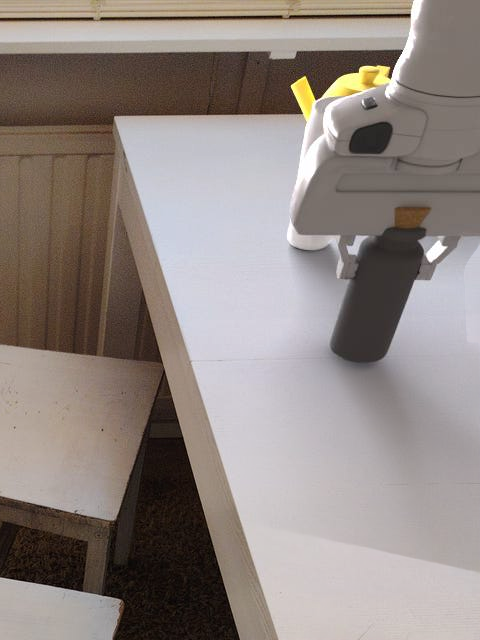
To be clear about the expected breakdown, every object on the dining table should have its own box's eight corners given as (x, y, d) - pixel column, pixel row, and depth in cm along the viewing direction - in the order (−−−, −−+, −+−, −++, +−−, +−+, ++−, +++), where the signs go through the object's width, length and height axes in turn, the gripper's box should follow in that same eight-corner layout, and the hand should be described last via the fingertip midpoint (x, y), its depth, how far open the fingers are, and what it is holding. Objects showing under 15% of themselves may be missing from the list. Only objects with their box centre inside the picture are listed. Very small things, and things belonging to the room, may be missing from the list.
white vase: (333, 258, 100) (374, 120, 88) (276, 251, 101) (309, 114, 90) (337, 233, 104) (377, 98, 92) (283, 227, 105) (315, 93, 94)
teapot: (254, 165, 117) (272, 75, 109) (302, 125, 126) (322, 38, 118) (393, 197, 110) (425, 102, 101) (433, 151, 119) (466, 61, 110)
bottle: (385, 368, 84) (442, 216, 72) (326, 358, 85) (373, 208, 73) (389, 338, 87) (444, 189, 75) (332, 329, 88) (377, 181, 77)
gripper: (551, 104, 71) (482, 262, 81) (308, 105, 72) (272, 260, 83) (577, 132, 67) (502, 295, 77) (320, 133, 68) (281, 292, 79)
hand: (381, 277), depth 80 cm, fingers closed on bottle, 6 cm apart
